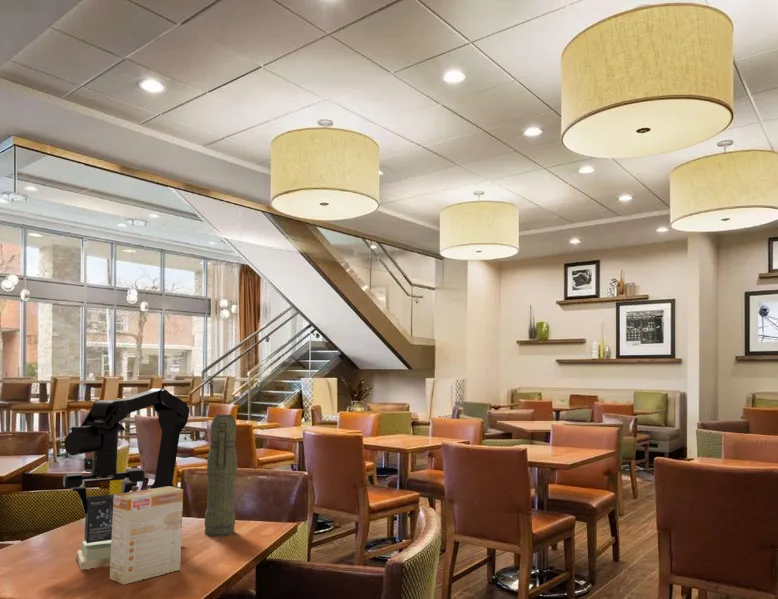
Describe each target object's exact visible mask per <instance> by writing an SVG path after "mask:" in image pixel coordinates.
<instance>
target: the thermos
mask: <svg viewBox="0 0 778 599" xmlns="http://www.w3.org/2000/svg"><path fill="white" fill-rule="evenodd" d="M236 439H237V422H236V419H235V416H234V415H232V414H216V415H214V416H213V418H212V421H211V423H210V440H209V441H210V445H209V452H208V453H207V461H206V463H207V464H206V473H207V477H208V478H207V484H208V485H207V500H206V501H207V504H206V505H207V506H206V511H205V513H204V535H205V536H209V537H227V536H230V535H233V534H234V533H235V524H236V511H235V486H236V485H235V484H236V483H235V482H236V474H237V472H238V454H237V450H236V448H237V447H236Z"/></svg>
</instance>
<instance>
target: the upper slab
mask: <svg viewBox="0 0 778 599" xmlns="http://www.w3.org/2000/svg"><path fill="white" fill-rule="evenodd" d="M81 550H82V553H83V555H84V557H85V558H86V560H87V561H91V560H99V559H107V558H111V540H107V541H100V542H92V543H87V542H86V540H83V541H82V542H81Z"/></svg>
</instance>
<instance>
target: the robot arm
mask: <svg viewBox="0 0 778 599" xmlns="http://www.w3.org/2000/svg"><path fill="white" fill-rule="evenodd" d="M149 407H152V410H153V411H155V412H156V413H157V414H158V416H157V419H158V424H159V426H160V430H161V435H160V444H159V448H158V449H159V450H158V456H157V463H156V468H155V475H154V482H153V484H152V485H151V486H150V488H145V490H147V489H154V488H160V487H167V486H171V487H174V484H173V482H174V475H175V468H176V461H177V456H178V448H179V441H180V436H181V432H182V431H183V429H184V428H185V427H186V425H187V424H188V420H189V416H190V411H191V410H190V406H189V405H188V403H187V402H186V401H183V400H182V399H181V398H179V397H177V396H175V395H174V394H172V393H171V392H170V391H169V390H167V389H165V388H158V387H157V388H154V387H153V388H150V389H149V390H146V391H145V390H144V391H143V392H140V393H136V394H133V395H129V396H126V397H124V398H119V399H102V400H101V399H99V400H97V401H94V402H93V404H92V406H91V408H90V409H89V412H88V414H87V415H86V416H85V418H84V420H83V421H82V424H81V425H80V426H71V432H69V433H68V434H67V436H66V438H65V440H64V449H65V452H66V453H68V454H69V455H71V456H77V455H78V456H79V455H84V454H89V453H93V454H92V456H93V457H84V458H83V471H84V472H90V474H88V475H85V474H84V475H83V474H82V472H68V473H65V474H64V475H63V479H62V485H63V487H64V488H65V489H71V490H72V491H73V492H77V494H78V496H79V499H80V503H81V505H82V508H83V512H84V514H87V497H88V496H87V488H86V486H85V484H86V483H87V484H88V483H89V484H90V483H99V482H109V481H111V482H113V481H121V488H120V489H121V490H120V494H121V493H127V492H131V490H132V488H133V487H134V486H138V483H139V482H140V483H141V482H145V476H146V474H145V471H144V470H143V469H142V468H140V467H132V468H125V471H121V472H117V470H118V447H119V445H118V444H119V432H122V431H125V429H126V428H125V426H123V425H122V424H121V423H120V422H121V421H123V420H124V419H126V418H127V417H128V415H130V414H132V413H134V412H137V411H140V410H143V409H145V408H149ZM183 514H184V512H183V510H182V516H183Z"/></svg>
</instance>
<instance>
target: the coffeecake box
mask: <svg viewBox="0 0 778 599" xmlns="http://www.w3.org/2000/svg"><path fill="white" fill-rule="evenodd" d="M146 489H147V488H146ZM146 489H142V490H135V491H130V492H127V493H121V492H120V493H114V500H113V520H112V540H111V561H110V567H109V580H111V579H112V580H111V581H113V580H115V581H114V582H116V581H117V583H119V584H122V585H123V586H124V585H127V584H132V583H136V582H139V581H143V579H144V580H147V579H150V578H155V577H159V576H162V575H165V574H166V573H167V574H170V572H171V573H173V572H174V571H175V572H177V571H178V570H179V571H181V559H182V558H181V557H182V556H181V555H182V532H183V529H182V528H183V515H182V511H183V508H184V507H183V506H184V505H183V504H184V503H183V502H184V489H183V488H179V487H171V486H167V487H160V488H154V489H150V488H148V489H147V490H146ZM167 574H166V575H167Z"/></svg>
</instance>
